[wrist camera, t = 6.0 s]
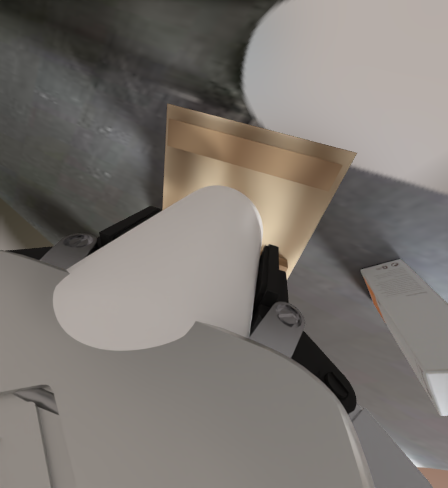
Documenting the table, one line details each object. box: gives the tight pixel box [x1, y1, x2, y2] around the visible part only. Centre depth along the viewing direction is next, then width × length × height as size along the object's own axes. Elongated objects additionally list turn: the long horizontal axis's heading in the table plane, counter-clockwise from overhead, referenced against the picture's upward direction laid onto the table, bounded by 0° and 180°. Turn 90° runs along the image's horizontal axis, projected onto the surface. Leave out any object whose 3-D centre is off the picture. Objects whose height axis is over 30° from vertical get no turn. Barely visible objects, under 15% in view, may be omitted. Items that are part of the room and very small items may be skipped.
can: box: [12, 185, 263, 415], centre depth 9 cm, size 6×6×12 cm
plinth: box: [162, 104, 357, 279], centre depth 20 cm, size 16×14×6 cm
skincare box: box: [360, 259, 448, 416], centre depth 17 cm, size 6×4×12 cm
